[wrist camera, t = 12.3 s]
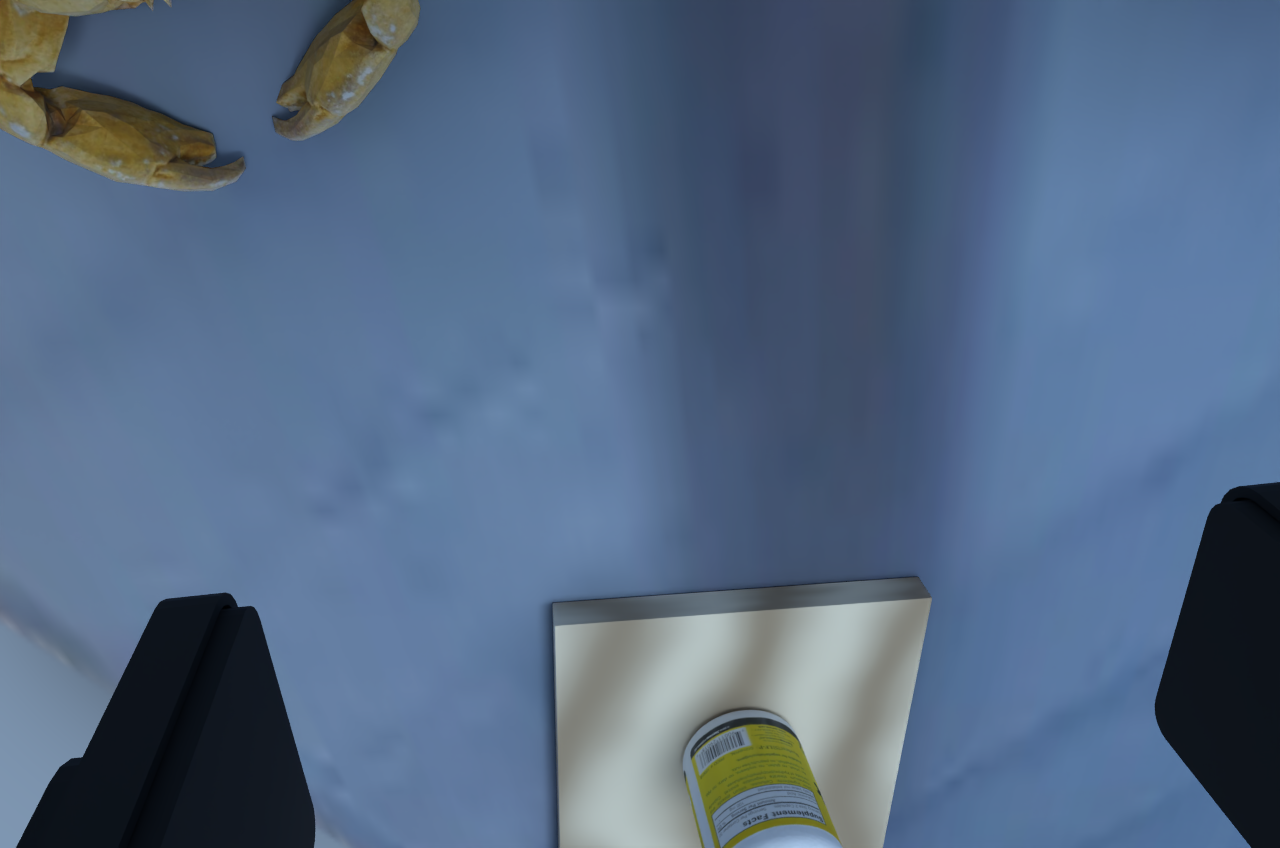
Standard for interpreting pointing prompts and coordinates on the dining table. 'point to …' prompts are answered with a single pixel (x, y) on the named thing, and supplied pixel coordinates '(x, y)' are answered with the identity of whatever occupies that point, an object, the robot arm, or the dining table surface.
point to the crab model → (155, 144)
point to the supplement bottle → (754, 785)
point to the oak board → (730, 699)
